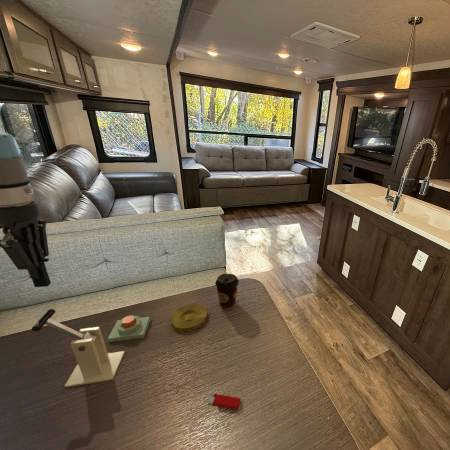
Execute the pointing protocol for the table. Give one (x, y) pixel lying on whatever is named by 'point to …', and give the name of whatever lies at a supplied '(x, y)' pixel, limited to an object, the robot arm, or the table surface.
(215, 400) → the lighter
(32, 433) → the table surface
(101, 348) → the bracket
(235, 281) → the coffee cup
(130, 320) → the button
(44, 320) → the lever
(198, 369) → the table surface
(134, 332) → the button box
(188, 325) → the olive yellow disc
